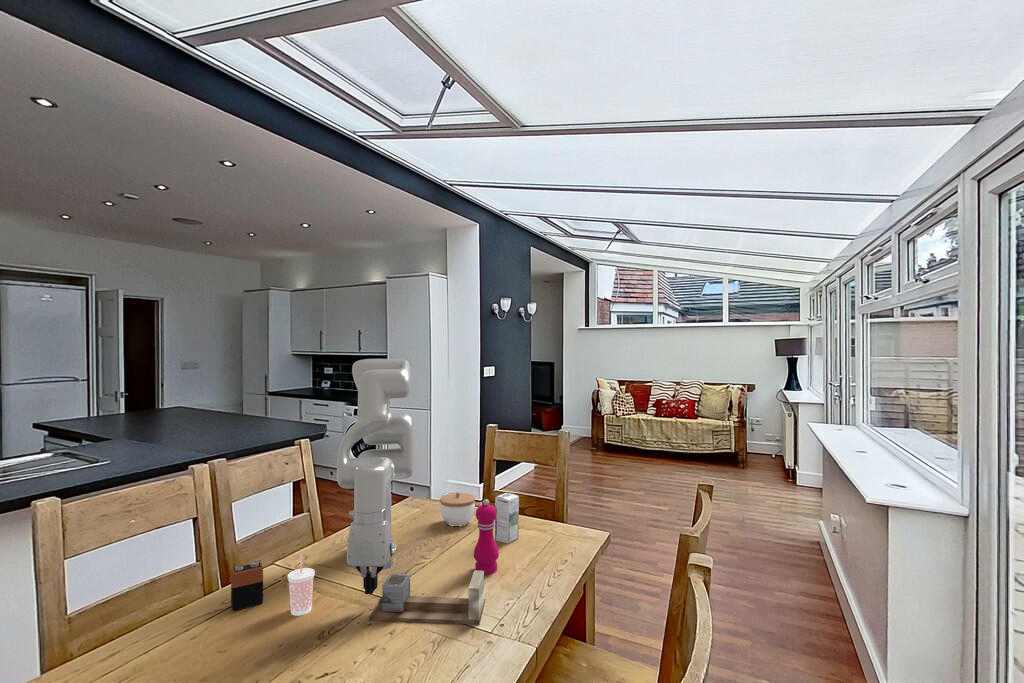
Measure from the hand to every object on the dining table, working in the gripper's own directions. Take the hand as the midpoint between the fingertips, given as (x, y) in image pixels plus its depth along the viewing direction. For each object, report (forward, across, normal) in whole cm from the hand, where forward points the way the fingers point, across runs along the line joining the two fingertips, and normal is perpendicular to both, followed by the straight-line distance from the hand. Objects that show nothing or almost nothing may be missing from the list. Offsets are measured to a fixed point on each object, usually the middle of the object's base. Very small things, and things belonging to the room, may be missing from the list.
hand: (370, 591), depth 121 cm
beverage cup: (+4, -17, -2) cm, 17 cm away
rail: (+4, +14, 0) cm, 15 cm away
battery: (+4, -32, 0) cm, 32 cm away
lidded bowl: (+4, +10, +59) cm, 60 cm away
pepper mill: (+4, +25, +23) cm, 35 cm away
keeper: (+3, +6, 0) cm, 7 cm away
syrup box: (+4, +29, +45) cm, 54 cm away
